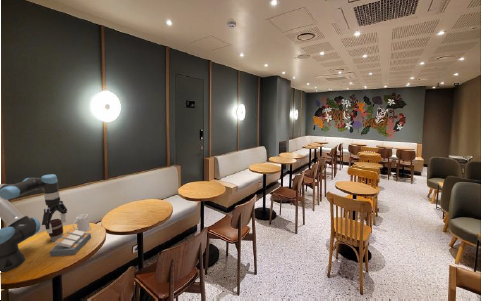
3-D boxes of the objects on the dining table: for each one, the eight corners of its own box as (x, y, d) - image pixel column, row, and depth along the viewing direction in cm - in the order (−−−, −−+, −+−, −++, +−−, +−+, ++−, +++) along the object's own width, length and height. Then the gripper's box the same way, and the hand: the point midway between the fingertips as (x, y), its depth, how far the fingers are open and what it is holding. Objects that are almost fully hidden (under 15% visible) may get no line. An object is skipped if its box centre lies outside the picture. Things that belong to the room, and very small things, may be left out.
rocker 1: (54, 244, 146) (55, 241, 146) (59, 240, 150) (59, 237, 150) (70, 247, 148) (71, 244, 147) (74, 243, 152) (75, 241, 152)
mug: (76, 235, 170) (74, 221, 168) (70, 233, 174) (68, 219, 171) (92, 228, 180) (90, 215, 178) (86, 226, 184) (84, 213, 182)
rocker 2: (60, 239, 152) (61, 236, 152) (65, 235, 156) (65, 232, 156) (75, 242, 153) (76, 239, 153) (79, 238, 158) (80, 236, 157)
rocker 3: (66, 234, 158) (67, 231, 157) (70, 231, 162) (71, 228, 162) (81, 237, 159) (81, 235, 159) (84, 234, 164) (85, 231, 163)
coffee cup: (49, 237, 167) (46, 219, 164) (66, 233, 173) (63, 216, 170) (47, 244, 159) (43, 225, 156) (64, 239, 164) (61, 221, 162)
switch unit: (50, 256, 145) (49, 249, 144) (70, 239, 165) (69, 233, 164) (74, 254, 147) (73, 247, 146) (91, 237, 167) (90, 231, 166)
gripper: (44, 205, 131) (49, 237, 135) (70, 190, 155) (74, 218, 159) (30, 206, 130) (36, 238, 134) (59, 191, 154) (63, 218, 158)
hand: (57, 227), depth 147 cm, fingers open, 13 cm apart
